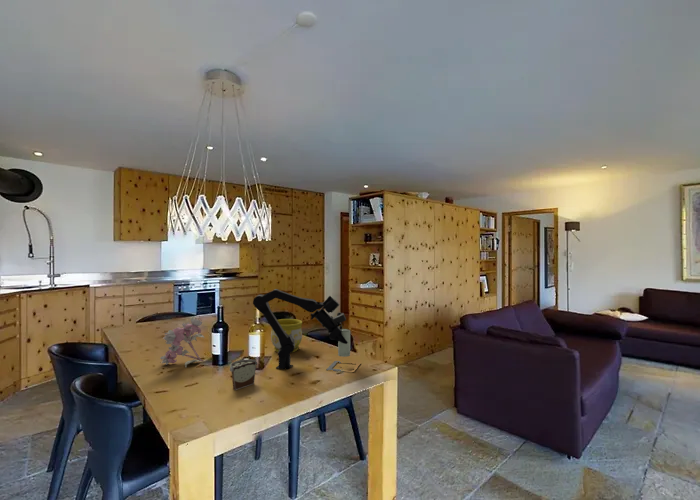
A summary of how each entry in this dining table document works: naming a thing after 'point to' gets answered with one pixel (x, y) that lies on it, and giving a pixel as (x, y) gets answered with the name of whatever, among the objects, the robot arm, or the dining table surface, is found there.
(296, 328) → the flowerpot
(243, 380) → the food container
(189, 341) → the flower
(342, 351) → the sage cup
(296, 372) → the dining table surface
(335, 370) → the dot frame
